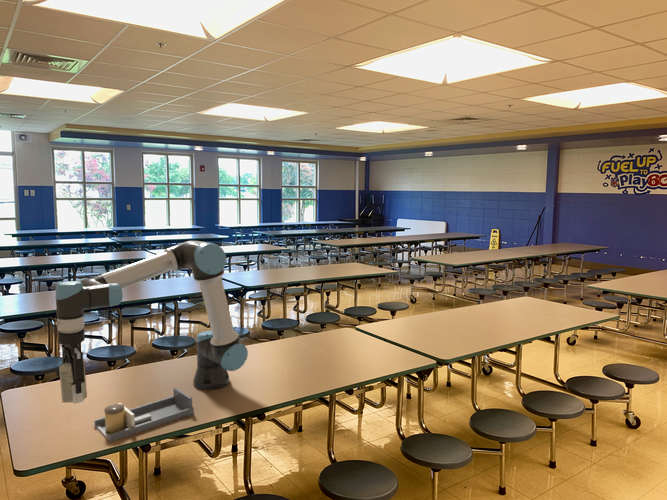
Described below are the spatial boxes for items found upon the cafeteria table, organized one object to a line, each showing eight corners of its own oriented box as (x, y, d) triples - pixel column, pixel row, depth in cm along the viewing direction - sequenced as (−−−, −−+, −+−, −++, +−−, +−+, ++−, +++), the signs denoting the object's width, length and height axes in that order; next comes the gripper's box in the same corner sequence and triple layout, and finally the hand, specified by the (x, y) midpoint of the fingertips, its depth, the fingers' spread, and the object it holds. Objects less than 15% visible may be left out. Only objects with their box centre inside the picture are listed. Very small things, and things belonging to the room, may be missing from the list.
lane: (94, 426, 166) (93, 410, 165) (175, 401, 187) (174, 386, 186) (110, 442, 155) (109, 425, 155) (193, 414, 176) (193, 398, 176)
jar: (102, 429, 164) (101, 407, 163) (120, 423, 168) (120, 402, 167) (109, 435, 159) (108, 413, 158) (127, 429, 163) (127, 408, 163)
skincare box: (87, 397, 156) (85, 361, 154) (81, 402, 151) (79, 366, 150) (67, 397, 155) (65, 361, 154) (60, 402, 151) (58, 366, 150)
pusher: (118, 419, 170) (117, 403, 169) (142, 411, 176) (142, 396, 176) (132, 431, 161) (131, 415, 161) (157, 423, 168) (157, 407, 167)
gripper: (49, 325, 155) (52, 392, 158) (67, 339, 141) (71, 412, 144) (74, 321, 160) (77, 386, 163) (94, 334, 146) (97, 405, 149)
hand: (74, 398), depth 153 cm, fingers closed on skincare box, 7 cm apart
